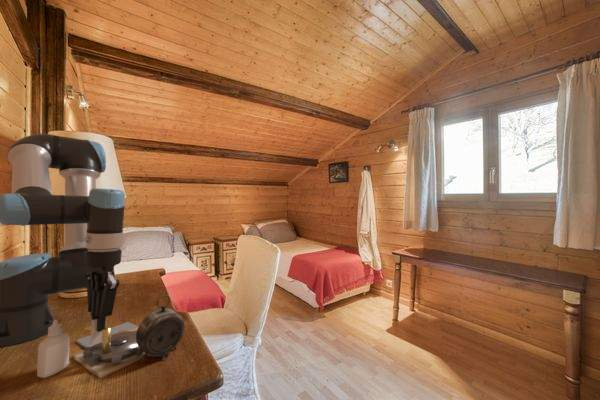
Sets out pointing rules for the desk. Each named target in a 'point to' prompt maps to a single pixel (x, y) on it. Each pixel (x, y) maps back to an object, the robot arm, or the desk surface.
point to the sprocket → (113, 347)
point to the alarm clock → (160, 332)
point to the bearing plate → (105, 364)
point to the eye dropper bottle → (53, 351)
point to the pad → (114, 330)
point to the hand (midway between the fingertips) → (97, 342)
